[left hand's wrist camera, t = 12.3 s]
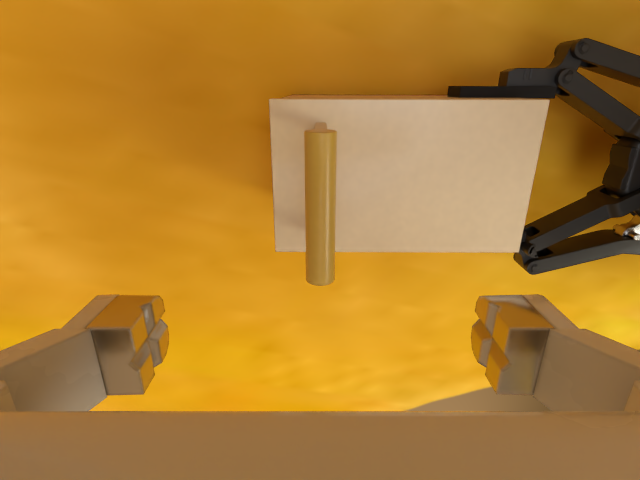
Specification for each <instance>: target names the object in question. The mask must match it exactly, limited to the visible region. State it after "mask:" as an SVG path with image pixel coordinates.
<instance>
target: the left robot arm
mask: <svg viewBox="0 0 640 480" xmlns="http://www.w3.org/2000/svg"><path fill="white" fill-rule="evenodd" d="M164 312H165V308H164V303H163V299H162V298H161V297H160V296H151V295H98V296H96V297H95V298H94V299H93V300H92V301H91V302H90V303H89V304H87V305H86V306H85V307H84V308H83V309H82V310H81V311H80V312H79V313H78V314H77V315H76V316H74V317H73V318H72V319H71V320H70V321H69V322H68V323H67V324H66V325H65V326H64V327H62V328H61V329H53V330H51V331H48V332H46V333H43V334H41V335H38V336H36V337H33V338H31V339H29V340H26V341H24V342H21V343H19V344H16V345H14V346H11V347H9V348H7V349H4V350H2V351H0V480H640V351H638V350H636V349H633V348H631V347H628V346H626V345H624V344H621V343H619V342H616V341H614V340H611V339H609V338H606V337H604V336H602V335H599V334H597V333H594V332H592V331H589V330H587V329H579V328H578V327H576V326H575V325H574V324H573V323H572V322H571V321H570V320H569V319H568V318H567V317H566V316H565V315H563V314H562V313H561V312H560V311H559V310H558V309H557V308H556V307H555V306H554V305H553V304H552V303H550V302H549V301H548V300H547V299H546V298H545V297H544V296H542V295H538V294H537V295H497V296H480V297H479V298H478V300H477V302H476V308H475V312H476V314H477V315H478V317H479V318H480V319H479V320H478V321H477V322H476V323H475V324H474V325H473V326H472V333H471V344H472V350H473V353H474V356H475V358H476V360H477V361H478V363H480V364H481V365H483V366H485V367H486V373H485V375H486V377H487V379H488V381H489V382H490V384H491V386H492V387H493V389H494V391H495V392H496V394H504V395H533V397H534V398H535V399H536V400H538V401H539V402H540V403H542V404H543V405H544V406H546V407H547V408H548V409H550V410H551V411H89V410H90V409H92V408H93V407H94V406H96V405H97V404H98V403H100V402H101V401H102V400H104V399H105V398H106V397H107V395H136V394H144V393H145V391H146V389H147V387H148V386H149V384H150V382H151V381H152V379H153V377H154V375H155V373H154V367H155V366H157V365H159V364H160V363H162V361H163V360H164V358H165V356H166V353H167V349H168V345H169V332H168V326H167V325H166V324H165V323H164V322H163V321H162V320H161V319H160V318H161V317H162V315H163V314H164Z"/></svg>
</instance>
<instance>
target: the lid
mask: <svg viewBox="0 0 640 480" xmlns="http://www.w3.org/2000/svg"><path fill="white" fill-rule="evenodd" d="M549 102H550V100H548V99H285V98H272V99H269V112H270V136H271V159H272V182H273V206H274V229H275V251H276V252H306V280H307V282H308V283H310V284H312V285H318V286H323V285H328V284H331V283H332V282H333V281H334V276H335V252H519V249H520V244H521V239H522V234H523V230H524V225H525V220H526V215H527V210H528V205H529V200H530V195H531V190H532V185H533V181H534V176H535V171H536V166H537V161H538V156H539V151H540V146H541V141H542V136H543V131H544V127H545V122H546V117H547V112H548V107H549Z"/></svg>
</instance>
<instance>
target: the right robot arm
mask: <svg viewBox="0 0 640 480" xmlns="http://www.w3.org/2000/svg"><path fill="white" fill-rule="evenodd" d="M554 54H555V57H554V59H553V61H552V62H551V64H550V65H549V66H548V67H546V68H514V69H507V70H504V71H502V72H500V77H499V83H498V86H449V87H448V96H447V97H457V98H555V95H556V96H558V97H559V98H560V99H562V100H563V101H565V102H566V103H568V104H569V105H571V106H572V107H573V108H575V109H576V110H578V111H579V112H581V113H582V114H584V115H585V116H586V117H588V118H589V119H591V120H592V121H594V122H595V123H597V124H598V125H599V126H601V127H602V128H604V131H605V132H606V133H608V134H609V135H611V136H612V137H613V138H615V139H616V140H618V142H617V143H616V144H612V148H611V152H610V165H609V167H608V168H607V170H606V172H605V174H604V178H603V181H602V184H604V185H602V186H600V187H598V188H596V189H594V190H591V191H590V192H588V193H587V196H586V197H584V198H582V199H580V200H578V201H576V202H574V203H572V204H569V205H567V206H565V207H563V208H561V209H559V210H557V211H555V212H553V213H551V214H549V215H547V216H544V217H542V218H540V219H538V220H536V221H534V222H532V223H530V224H528V225H526V226H524V230H523V234H522V239H521V244H520V249H519V252H515V254H514V257H513V258H514V260H515V261H516V262H517V263H518V264H519V265H520V266H521V267H522V268H524V269H525V270H526V271H527V272H528V273H529V274H532V275H534V274H539V273H543V272H547V271H552V270H556V269H560V268H564V267H568V266H573V265H577V264H581V263H585V262H589V261H594V260H598V259H602V258H606V257H610V256H615V255H619V254H637V255H640V116H638V115H637V114H635V113H634V112H633V111H631V110H630V109H628V108H627V107H626V106H624V105H623V104H621V103H620V102H619V101H617V100H616V99H614V98H613V97H612V96H610V95H609V94H607V93H606V92H605V91H603V90H602V89H600V88H599V87H598V86H596V85H595V84H593V83H592V82H591V81H589V80H588V79H586V78H585V77H584V76H582V75H581V74H579V73H578V72H577V69H578V68H579V67H581V68H584V69H587V70H590V71H593V72H596V73H599V74H602V75H605V76H608V77H611V78H614V79H617V80H619V81H622V82H625V83H628V84H631V85H634V86H638V87H640V56H638V55H635V54H633V53H630V52H627V51H624V50H621V49H618V48H615V47H612V46H609V45H606V44H603V43H600V42H597V41H595V40H592V39H589V38H583V39H578V40H572V41H567V42H563V43H560V44H559V45H558V46H557V47H556V49H555V52H554ZM629 213H631V214H632V215H633V216H634V217H633V219H632V220H631V221H630V222H628V223H625V224H621V225H619V224H616V225H614V226H613V230H610V229H607V230H599V231H595V232H590V233H586V234H582V235H578V236H574V237H570V236H572V235H575V234H577V233H579V232H581V231H583V230H585V229H587V228H590V227H592V226H594V225H596V224H598V223H600V222H602V221H605V220H607V219H609V218H614V217H622V216H624V215H627V214H629ZM568 237H570V238H568Z"/></svg>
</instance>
